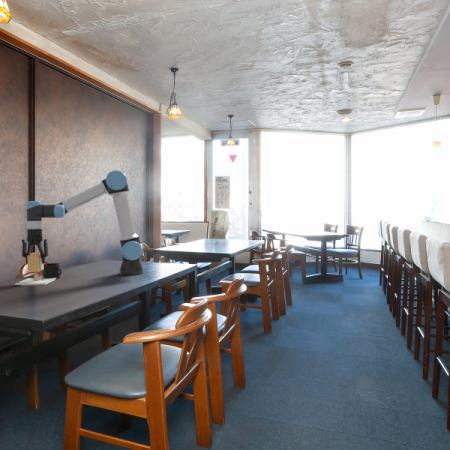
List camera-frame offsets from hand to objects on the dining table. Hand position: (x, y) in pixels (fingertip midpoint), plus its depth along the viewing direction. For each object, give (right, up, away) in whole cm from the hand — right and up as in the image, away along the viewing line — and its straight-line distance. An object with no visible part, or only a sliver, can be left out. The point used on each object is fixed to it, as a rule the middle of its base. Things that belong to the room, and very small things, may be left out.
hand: (35, 269), depth 209 cm
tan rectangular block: (0, -1, 0) cm, 1 cm away
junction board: (0, -7, +2) cm, 8 cm away
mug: (+5, -8, +11) cm, 14 cm away
